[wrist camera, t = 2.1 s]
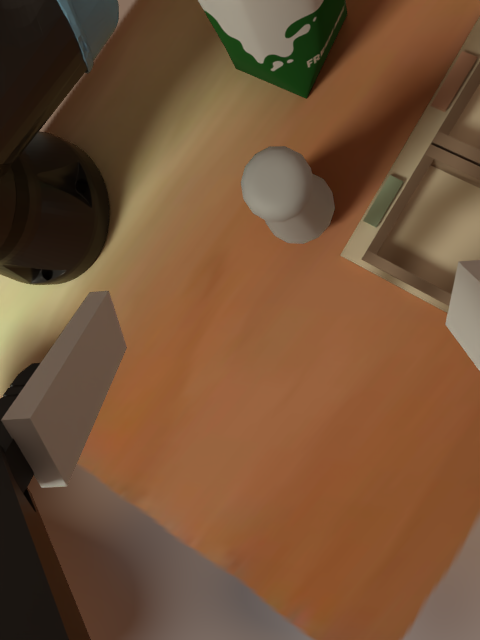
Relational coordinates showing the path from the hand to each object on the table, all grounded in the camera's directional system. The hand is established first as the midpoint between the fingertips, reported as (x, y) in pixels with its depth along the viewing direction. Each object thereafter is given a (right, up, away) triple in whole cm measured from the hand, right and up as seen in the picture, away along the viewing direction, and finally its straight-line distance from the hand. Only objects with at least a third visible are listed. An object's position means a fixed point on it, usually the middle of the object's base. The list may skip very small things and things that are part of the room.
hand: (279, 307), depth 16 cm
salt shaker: (+4, +9, +20) cm, 22 cm away
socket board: (+17, +11, +16) cm, 26 cm away
